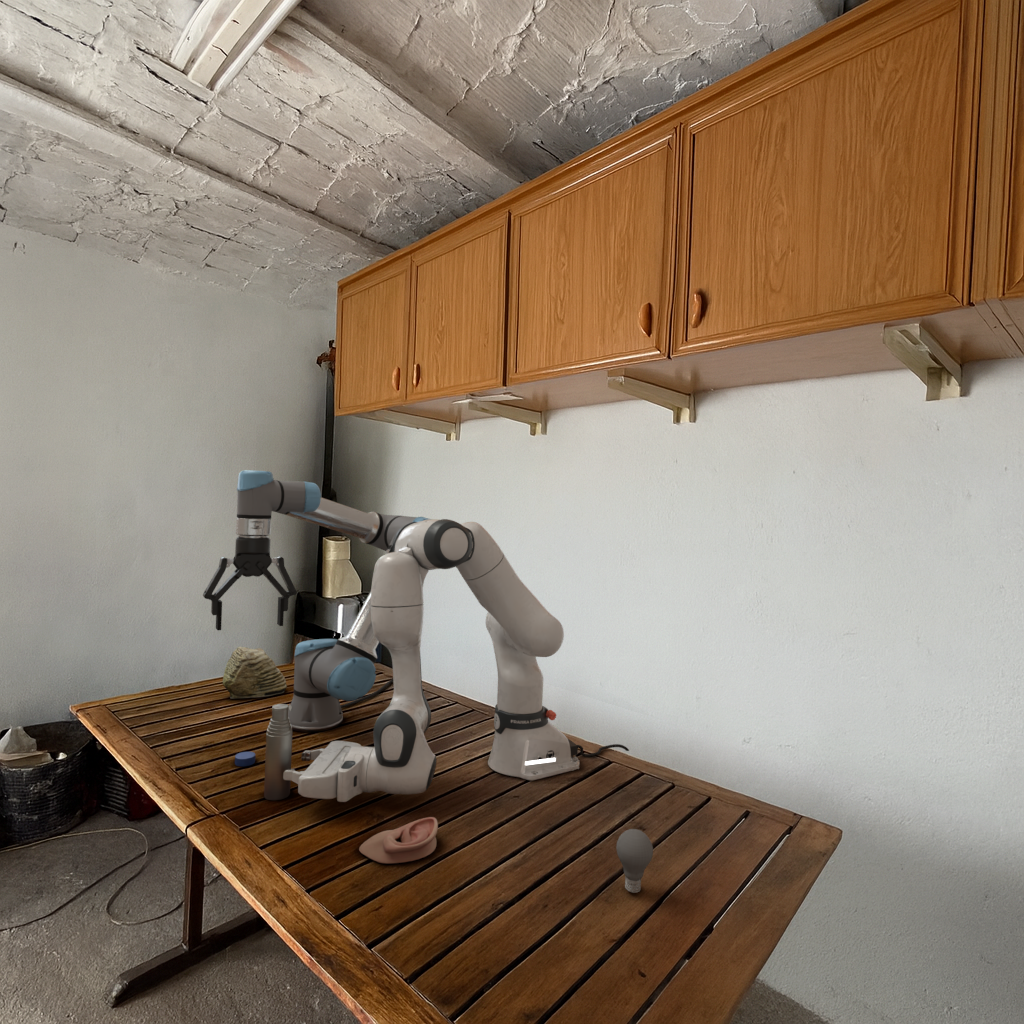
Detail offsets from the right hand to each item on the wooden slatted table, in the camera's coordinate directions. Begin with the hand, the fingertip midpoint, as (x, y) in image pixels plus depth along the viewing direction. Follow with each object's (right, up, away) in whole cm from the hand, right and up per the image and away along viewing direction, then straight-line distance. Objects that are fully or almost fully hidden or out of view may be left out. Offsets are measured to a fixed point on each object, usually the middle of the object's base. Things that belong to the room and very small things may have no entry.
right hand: (293, 764), depth 134 cm
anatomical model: (+25, -8, -18) cm, 32 cm away
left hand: (-15, +26, +14) cm, 34 cm away
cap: (-17, -4, +15) cm, 23 cm away
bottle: (-4, -6, 0) cm, 7 cm away
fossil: (-35, -4, +64) cm, 73 cm away
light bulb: (+66, -10, -28) cm, 73 cm away
